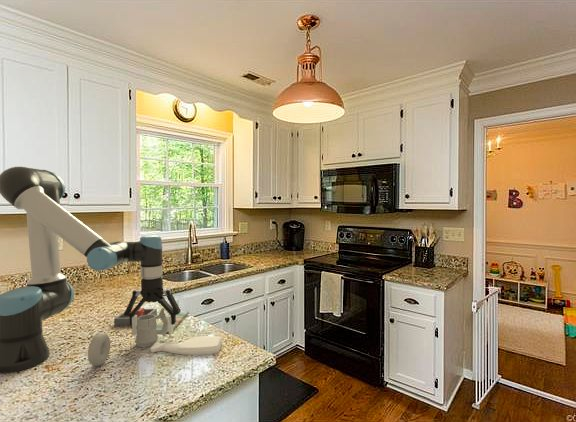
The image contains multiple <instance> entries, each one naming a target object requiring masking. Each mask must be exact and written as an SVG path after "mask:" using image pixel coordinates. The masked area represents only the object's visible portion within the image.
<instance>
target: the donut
mask: <svg viewBox="0 0 576 422" xmlns="http://www.w3.org/2000/svg"><path fill="white" fill-rule="evenodd" d="M110 351H111V339H110V336H109V335H108V334H107V333H106V332H100V333H96V334H95V335H94V336H93V338H92V339H91V341H90V342H89V346H88V350H87V359H88V362H89V364H90V365H91V366H93V367H99V366H102V365H103V364H104V363H105V362H106V361H107V359H108V357H109V354H110Z"/></svg>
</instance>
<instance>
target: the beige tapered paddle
mask: <svg viewBox="0 0 576 422" xmlns="http://www.w3.org/2000/svg"><path fill="white" fill-rule="evenodd" d="M222 339H223V338H222V337H221V336H219V335H217V336H216V335H215V336H214V335H213V336H210V335H209V336H207V335H206V336H205V335H204V336H194V337H191V338H188V339H186V340H184V341H182V342H180V343H170V342H169V341H168V342H160V341H158V340H157V342H156V343H154V344H153V345H152V346H150V347H149V352H150V353H151V354H153V353H155V352H156V353H157V352H164V353H165V352H166V353H172V354H178V355H184V356H185V355H187V356H192V355H193V356H200V355H203V356H205V355H213V354H214V355H215V354H218V353H219V352H220V350H221V347H222V343H223V340H222Z"/></svg>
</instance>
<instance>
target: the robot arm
mask: <svg viewBox="0 0 576 422" xmlns="http://www.w3.org/2000/svg"><path fill="white" fill-rule="evenodd" d="M65 193H66V185H65V182H64V180H63V178H62V177H61V176H60V175H58V174H57V173H56V172H54V171H53V172H52V171H50V170H46V169H39V168H33V167H26V166H13V167H12V166H11V167H9V168H6V169H5V170H3V171H2V172H1V173H0V195H1V196H2V197H3V199H4V200H5V201H7V202H8V203H9V204H10V205H12V206H13V207H14V208H16V210H24V211H25V213H26V224H27V237H28V248H29V259H30V269H31V272H30V273H31V277H30V278H29V280H28V281H27V282H26V286H24V287H23V286H22V287H18V288H14V289H10V290H7V291H5V292H3V293H0V374H10V373H15V372H16V373H17V372H20V371H24V370H27V369H29V368H33V367H35V366H38V365H40V364H42V363H43V362H45V361H46V360H47V359H48V358H49V357H50V348H49V346H48V344H47V342H46V340H45V336H44V335H43V321H45V320H46V319H48V318H50V317H53V316H55V315H58V314H60V313H62V312H63V311H65V310H66V309H67V308H68V307H69V306H70V305H71V304H72V302H73V300H74V298H75V297H74V296H75V292H74V288H73V285H72V284H70V283H69V282H68V281H67V276H66V275H64V274H63V273H62V272H61V260H60V258H61V257H60V247H59V238H61V239H62V240H63V241H64V242H65V243H67V244H69V245H70V246H71V247H72V248H74V249H75V250H76V251H78V252H79V253H80V254H81V255H83V256H84V257H85V258H86V262H87V264H88V266H89V268H90V269H92V270H94V271H106V270H109V269H112V268H113V267H115V266H119V265H122V264H124V263H132V262H133V263H134V262H140V277H141V279H140V288H141V289H140V290H139V289H137V288H136V289H135V290H133V291H132V295H131V298H130V300H129V302H128V305H127V306H126V309H125V310H124V312H125V313H124V312H123V313H124V315H125V316H126V315H127V316H129V317H130V325H132V326H131V332H132V333H131V334H132V336H134V335H137V329H136V325H137V315H135V314H136V312H137V311H138V310H139V309H140V308H142V307H143V305H144V304H145V303H146V302H147V303H158V304H160V306H162V308H164V311H166V312H167V313H168V315H169V314H170V316H169V333H168V335H172V334H173V332H174V331H173V324H175V323H176V315H178V314H179V313H180V312H182V311H181V309H180V305H178V303H177V301H176V299H175V297H174V295H173V290H172V288H168V289H164V288H163V287H164V286H163V285H164V278H163V273H164V272H163V241H162V237H161V236H160V235H142V236H141V237H140V238H139V240H137V241H111V242H107V241H106V240H105V239H104V238H103V237H101V236H100V235H99V234H97V233H96V232H95V231H93V230H92V229H91V228H90V227H88V226H87V225H86V224H84V223H83V221H81V220H79V219H78V218H77V217H76V216H74V215H73V214H72V213H70V212H69V211H68V210H66V209H65V208H64V207H63V206H61V202H60V199H62V197H63V196H64V195H65ZM140 295H141V297H142V298H141V300H140V301H139V302H138V303H137V305H136V306H135V307H134V305H135V303H136V301H137V299H138V297H139V296H140ZM163 295H165V296H166V297H167V300H168V301H167V300H166V298H165V297H164V296H163ZM168 302H169V303H168ZM133 308H134V309H133ZM132 309H133V311H132V312H131V310H132Z"/></svg>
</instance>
